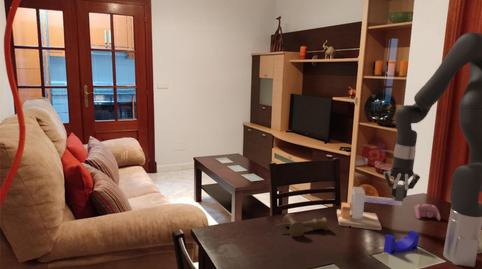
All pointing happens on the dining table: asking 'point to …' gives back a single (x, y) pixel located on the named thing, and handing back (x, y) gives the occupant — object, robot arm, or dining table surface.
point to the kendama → (303, 224)
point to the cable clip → (401, 243)
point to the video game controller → (426, 207)
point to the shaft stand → (359, 213)
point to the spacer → (345, 210)
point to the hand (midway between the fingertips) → (398, 197)
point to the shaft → (391, 201)
